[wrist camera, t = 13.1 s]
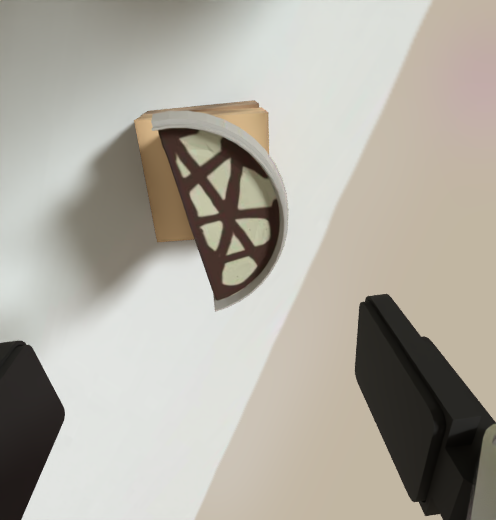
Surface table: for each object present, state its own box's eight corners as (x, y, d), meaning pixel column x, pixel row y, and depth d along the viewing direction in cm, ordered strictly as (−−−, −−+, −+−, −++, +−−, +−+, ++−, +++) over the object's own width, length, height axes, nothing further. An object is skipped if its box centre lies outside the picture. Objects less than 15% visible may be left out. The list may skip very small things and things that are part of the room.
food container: (280, 233, 31) (310, 293, 22) (213, 251, 31) (217, 318, 22) (248, 82, 25) (272, 83, 17) (166, 104, 26) (147, 117, 17)
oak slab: (261, 107, 30) (268, 112, 26) (264, 216, 35) (270, 233, 31) (143, 114, 29) (134, 120, 26) (163, 224, 34) (157, 242, 31)
